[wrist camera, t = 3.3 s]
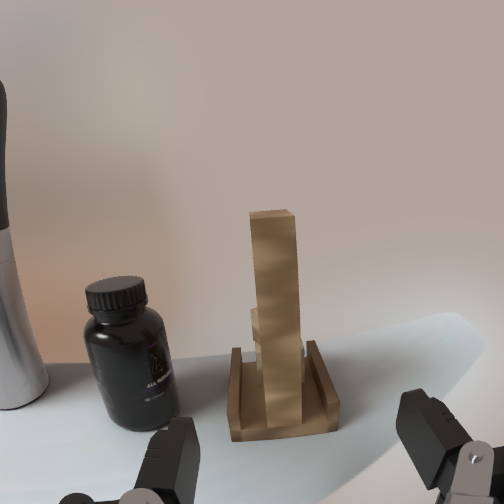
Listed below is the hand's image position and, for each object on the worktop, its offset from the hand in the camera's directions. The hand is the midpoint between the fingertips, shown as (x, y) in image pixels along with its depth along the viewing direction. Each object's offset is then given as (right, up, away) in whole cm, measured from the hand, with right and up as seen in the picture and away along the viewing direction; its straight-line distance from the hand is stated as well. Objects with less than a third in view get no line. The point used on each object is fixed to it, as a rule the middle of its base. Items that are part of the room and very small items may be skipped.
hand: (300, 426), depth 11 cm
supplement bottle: (-11, -8, +15) cm, 20 cm away
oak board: (+1, -6, +13) cm, 14 cm away
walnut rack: (+1, -6, +16) cm, 17 cm away
